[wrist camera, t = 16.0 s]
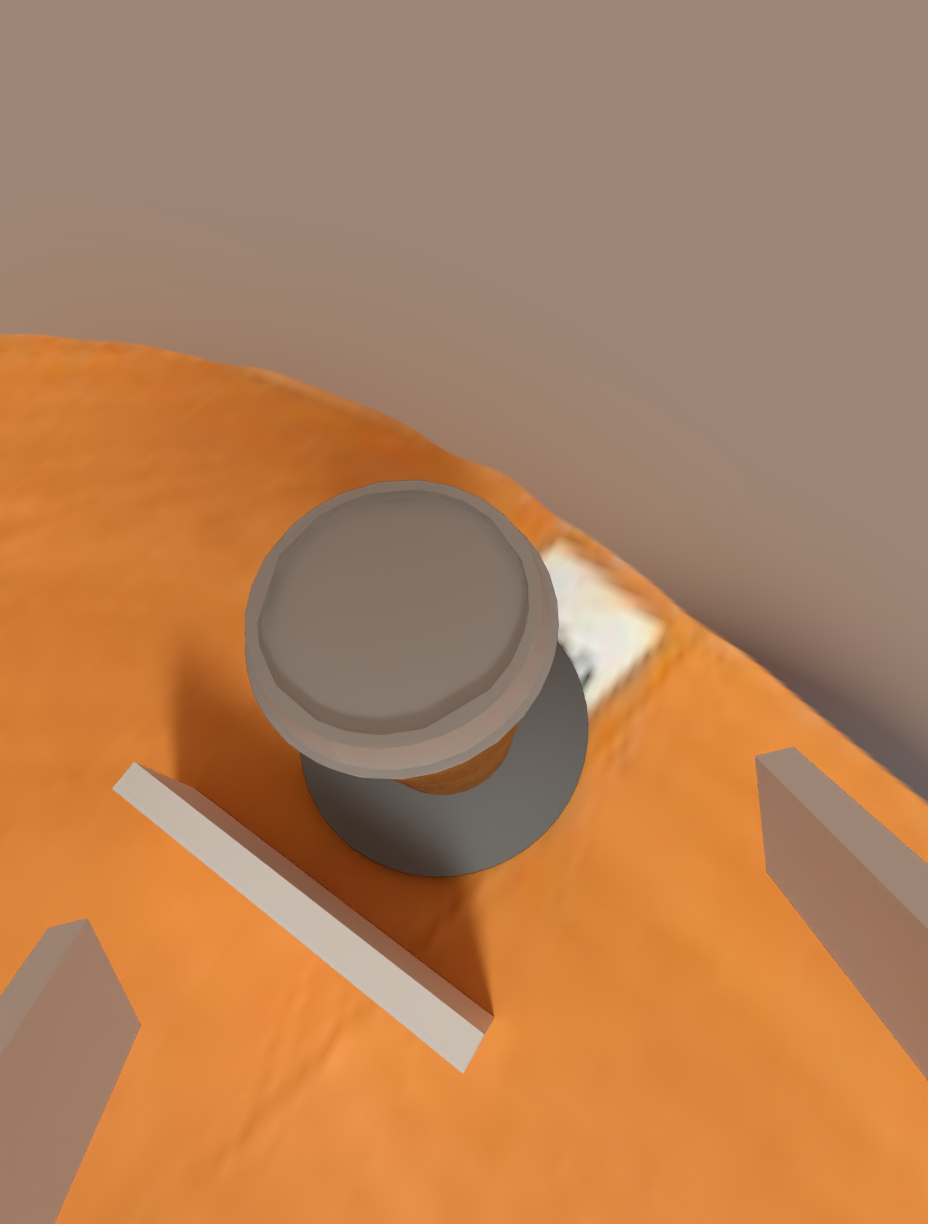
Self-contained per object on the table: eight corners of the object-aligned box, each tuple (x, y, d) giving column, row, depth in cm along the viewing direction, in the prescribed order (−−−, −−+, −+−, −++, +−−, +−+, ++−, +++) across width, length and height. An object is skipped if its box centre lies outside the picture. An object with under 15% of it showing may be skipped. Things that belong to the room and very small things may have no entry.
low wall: (176, 811, 29) (112, 788, 25) (195, 788, 30) (134, 761, 25) (477, 1049, 24) (463, 1073, 20) (494, 1017, 25) (484, 1034, 20)
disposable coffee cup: (431, 593, 32) (379, 422, 22) (594, 704, 29) (627, 567, 18) (296, 743, 30) (161, 633, 19) (459, 885, 26) (406, 848, 16)
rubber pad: (246, 770, 30) (241, 767, 29) (409, 557, 34) (407, 552, 34) (487, 945, 26) (486, 945, 25) (639, 677, 30) (640, 673, 29)
